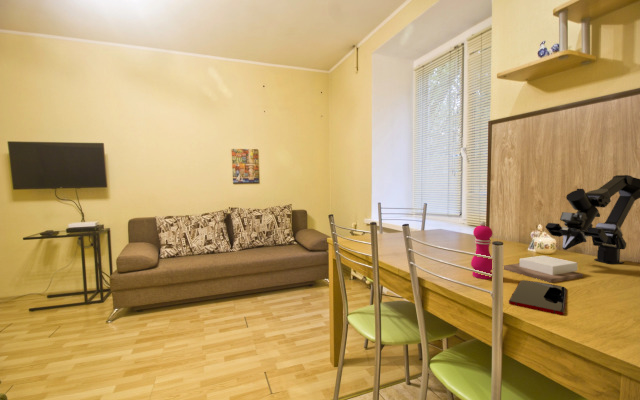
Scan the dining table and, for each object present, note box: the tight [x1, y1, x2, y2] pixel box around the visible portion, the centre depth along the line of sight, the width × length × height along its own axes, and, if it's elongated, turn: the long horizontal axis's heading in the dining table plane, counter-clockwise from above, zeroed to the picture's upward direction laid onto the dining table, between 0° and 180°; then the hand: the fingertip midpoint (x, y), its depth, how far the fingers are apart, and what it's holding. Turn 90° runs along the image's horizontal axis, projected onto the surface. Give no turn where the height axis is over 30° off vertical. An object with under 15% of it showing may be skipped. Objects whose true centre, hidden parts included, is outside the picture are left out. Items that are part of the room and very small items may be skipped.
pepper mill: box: [470, 220, 493, 280], centre depth 107 cm, size 7×7×20 cm
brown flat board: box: [503, 262, 584, 284], centre depth 111 cm, size 16×18×1 cm
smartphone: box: [508, 279, 567, 316], centre depth 89 cm, size 12×2×25 cm
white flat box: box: [519, 255, 578, 275], centre depth 112 cm, size 3×12×13 cm
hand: (564, 249), depth 114 cm, fingers closed
